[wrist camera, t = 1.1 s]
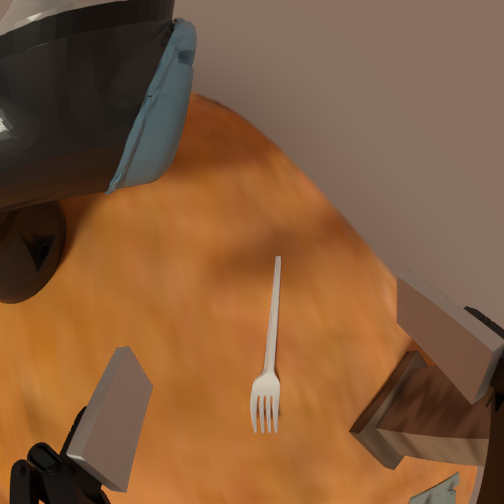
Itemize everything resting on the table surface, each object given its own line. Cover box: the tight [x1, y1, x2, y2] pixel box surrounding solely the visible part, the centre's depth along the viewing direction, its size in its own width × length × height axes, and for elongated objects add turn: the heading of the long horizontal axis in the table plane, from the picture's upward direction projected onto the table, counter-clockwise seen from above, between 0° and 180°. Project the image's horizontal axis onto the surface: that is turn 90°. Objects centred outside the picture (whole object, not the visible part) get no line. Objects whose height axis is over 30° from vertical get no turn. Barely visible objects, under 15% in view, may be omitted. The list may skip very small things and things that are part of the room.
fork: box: [250, 256, 281, 433], centre depth 28 cm, size 3×20×2 cm, turn 173°
